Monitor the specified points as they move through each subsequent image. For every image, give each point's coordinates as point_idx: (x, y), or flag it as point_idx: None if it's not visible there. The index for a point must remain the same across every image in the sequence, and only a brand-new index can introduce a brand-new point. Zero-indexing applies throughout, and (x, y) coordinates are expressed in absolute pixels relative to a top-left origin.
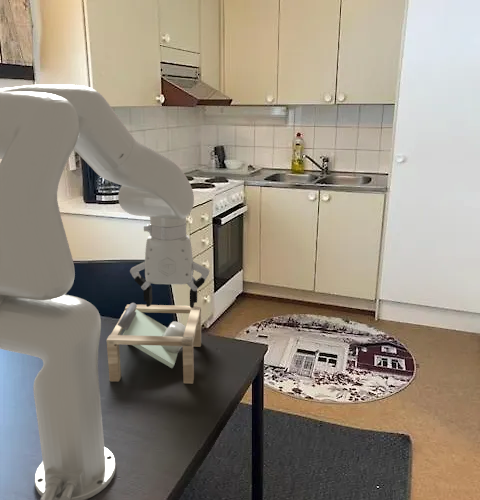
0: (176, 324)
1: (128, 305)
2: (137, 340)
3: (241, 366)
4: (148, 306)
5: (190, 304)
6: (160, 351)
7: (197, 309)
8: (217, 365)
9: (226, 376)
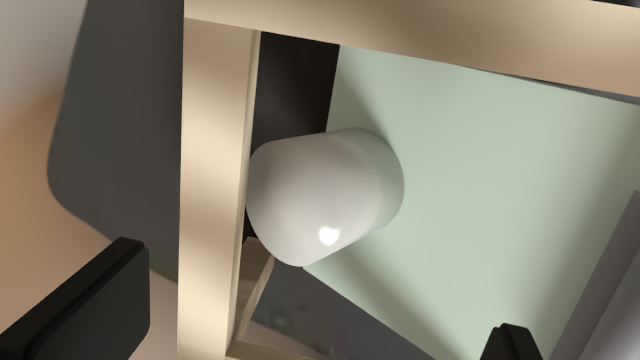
0: (304, 238)
1: None
2: (592, 4)
3: (100, 86)
4: (507, 324)
5: (127, 256)
6: (403, 102)
7: (190, 351)
8: None
9: (148, 21)
